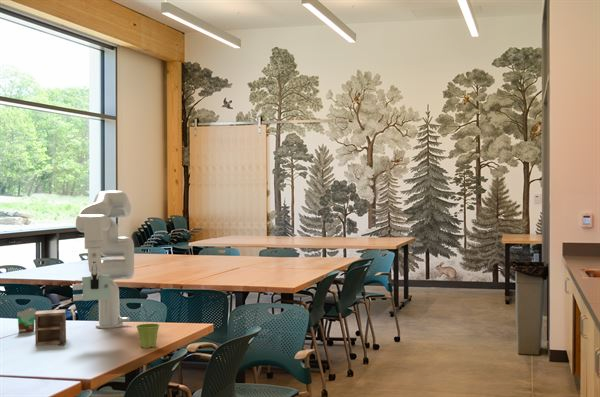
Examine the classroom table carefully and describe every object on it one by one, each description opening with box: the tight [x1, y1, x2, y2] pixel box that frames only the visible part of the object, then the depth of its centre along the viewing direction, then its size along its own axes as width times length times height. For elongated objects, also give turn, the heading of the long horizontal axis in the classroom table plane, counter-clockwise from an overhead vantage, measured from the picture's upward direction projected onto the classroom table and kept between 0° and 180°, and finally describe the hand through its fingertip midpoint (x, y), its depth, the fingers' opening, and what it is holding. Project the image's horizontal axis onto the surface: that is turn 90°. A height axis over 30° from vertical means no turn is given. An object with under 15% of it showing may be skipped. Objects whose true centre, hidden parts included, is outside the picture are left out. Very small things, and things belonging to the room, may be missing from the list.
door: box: [72, 275, 110, 302], centre depth 326 cm, size 15×4×10 cm, turn 105°
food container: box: [16, 307, 37, 334], centre depth 357 cm, size 12×6×10 cm, turn 179°
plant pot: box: [135, 323, 160, 349], centre depth 317 cm, size 9×9×9 cm
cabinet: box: [34, 309, 67, 347], centre depth 327 cm, size 12×14×13 cm
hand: (94, 288), depth 327 cm, fingers closed on door, 2 cm apart
